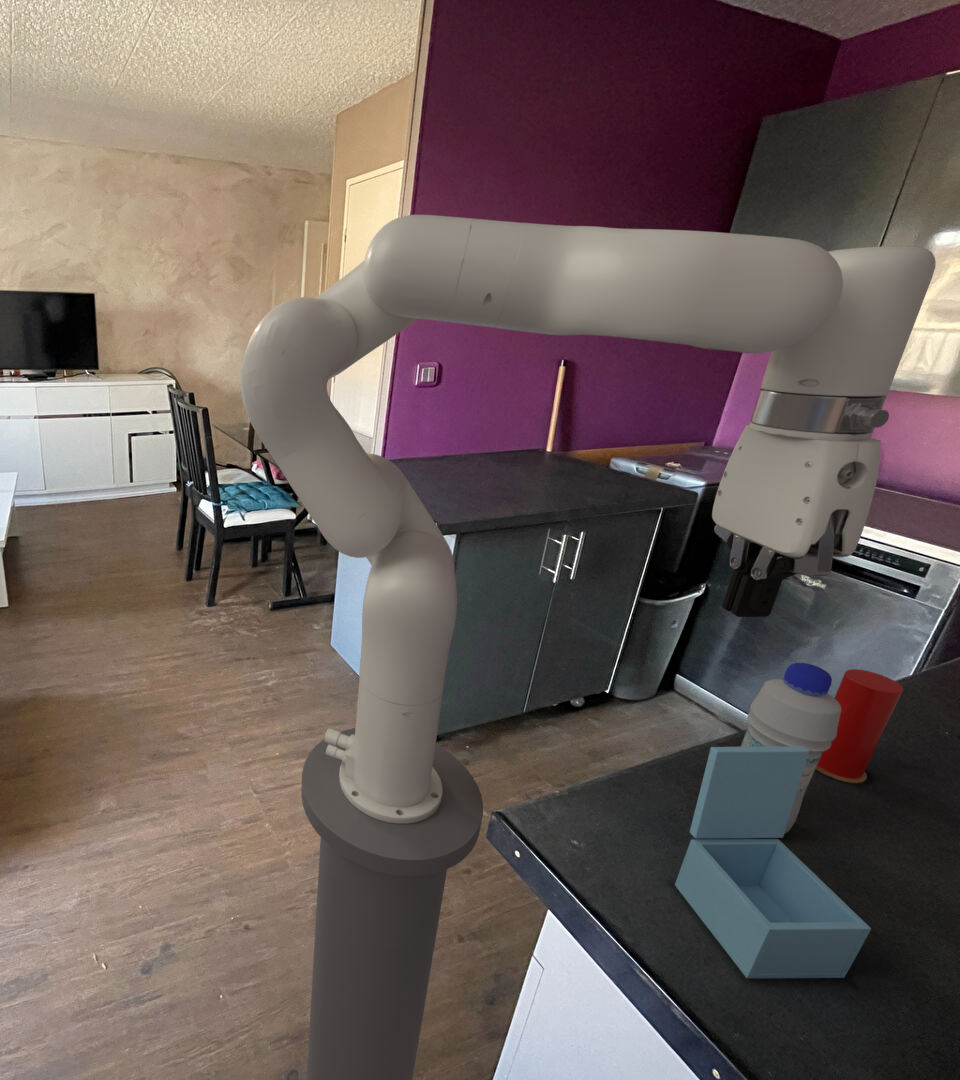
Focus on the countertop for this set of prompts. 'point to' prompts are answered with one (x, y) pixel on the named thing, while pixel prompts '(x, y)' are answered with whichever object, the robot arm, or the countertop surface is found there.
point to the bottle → (795, 719)
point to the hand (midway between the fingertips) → (745, 612)
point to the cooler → (770, 909)
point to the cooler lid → (748, 791)
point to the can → (860, 721)
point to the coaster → (842, 777)
